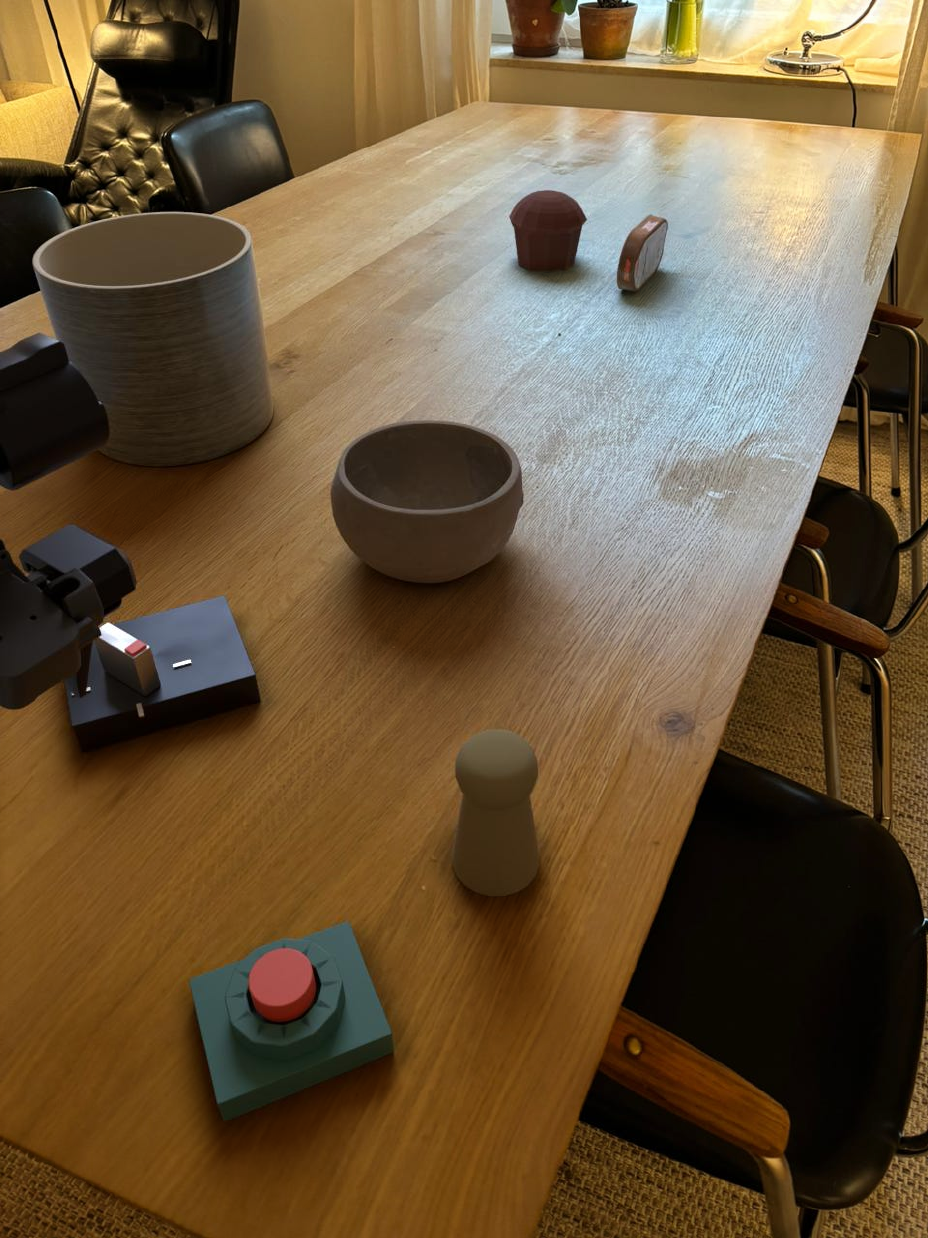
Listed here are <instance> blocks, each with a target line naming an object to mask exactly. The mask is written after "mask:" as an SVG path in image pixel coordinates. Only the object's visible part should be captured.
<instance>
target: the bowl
mask: <svg viewBox="0 0 928 1238" xmlns="http://www.w3.org/2000/svg"><path fill="white" fill-rule="evenodd" d="M524 496H525V495H524V490H523V473H522V467H521V463H520V460H519V457H518V455H517V454H516V452H515V451H514V449H513V448H512V446H510V445H509V444H508V443H507V441H505V440H504V439H502V438H500V437H499V436H497V435H496V434H494V433H492V432H490V431H488V430H485V429H482V428H479V427H477V426H474V425H470V424H466V423H461V422H456V421H448V420H433V419H421V420H407V421H401V422H393V423H388V424H384V425H381V426H377V427H376V428H373V429H370V430H369V431H367V432H365V433H363V434H361V435H360V436H358V437H356V438H355V439H354V440H352V441H351V442H350V443H349V444H348V445H347V446H346V447H345V449H344V450H343V451H342V453H341V455H340V457H339V461H338V464H337V467H336V470H335V473H334V476H333V479H332V483H331V488H330V504H331V511H332V517H333V520H334V523H335V526H336V528H337V530H338V532H339V535H340V536H341V538H342V539H343V541H344V543H345V544H346V545H347V547H348V548H349V549H350V550H351V551H352V553H353V554H354V555H355V556H356V557H357V558H358V559H360V561H362V562H363V563H365V564H366V565H368V566H369V567H371V568H372V569H374V570H375V571H377V572H379V573H381V574H383V575H385V576H388V577H390V578H393V579H396V580H401V581H406V582H412V583H420V584H441V583H446V582H449V581H453V580H457V579H459V578H461V577H463V576H466V575H469V574H470V573H472V572H474V571H475V570H477V569H478V568H480V567H482V566H484V565H486V564H488V563H489V562H491V561H492V560H493V559H494V558H495V557H496V556H497V555H498V554H499V553H500V552H501V550H503V548H504V547H506V545H507V543H508V542H509V541H510V538H511V536H512V535H513V533H514V530H515V529H516V524H517V520H518V516H519V514H520V509H521V508H522V507H523V505H524Z"/></svg>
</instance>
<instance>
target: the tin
mask: <svg viewBox="0 0 928 1238" xmlns="http://www.w3.org/2000/svg"><path fill="white" fill-rule="evenodd" d="M668 229H669V222H668V220H667V219H666V218H665V217H661V216H656V215H653V214H648V215H646V216H645V218H643V219H641V221H640V222H639V223H638V224H637V225H635V226H634V227H633V228H632V229H631V230H630V231H629V232H628V235H627V236H626V239H625V240H624V243H623V245H622V249H621V252H620V255H619V259H618V264H617V270H616V286H617V288H618V289H619V290H626V291H629V292H638V291H639V290H640V289H642V287H643V286H644V285H645V284H646V283H647V282H648V281H649V280H650V279H651V278H652V277H653V275H655V273H656V272H657V270H658V269H659V266H660V264H661V262H662V258H663V256H664V251H665V243H666V239H667V234H668V233H667V232H668Z"/></svg>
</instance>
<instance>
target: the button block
mask: <svg viewBox="0 0 928 1238" xmlns="http://www.w3.org/2000/svg"><path fill="white" fill-rule="evenodd" d="M283 948H287V949H294V950H297V951H299V952H301V953H302V954H304V955H305V956H306V957H307V958H308V959H309V961H310V963H311V965H312V969H313V973H314V978H315V983H316V994H315V998H314V1000H313V1002H312V1004H311V1006H310V1007H309V1008H308V1010H307V1011H306V1012H305V1013H304V1014H302V1015H301V1016H299V1017H298V1018H296V1019H294V1020H291V1021H287V1022H273V1021H270V1020H267V1019H265V1018H264V1017H262V1016H261V1015H260V1014H259V1013H258V1012H257V1010H256V1009H255V1006H254V1004H253V1000H252V997H251V993H250V990H249V985H248V980H249V975H250V972H251V970H252V968H253V966H254V965H255V963H256V962H257V961H258V960H259V959H260V958H261V957H262V956H264V955H265V954H267V953H268V952H271V951H273V950H276V949H283ZM188 984H189V987H190V991H191V996H192V1001H193V1006H194V1009H195V1014H196V1018H197V1023H198V1027H199V1031H200V1035H201V1040H202V1044H203V1049H204V1053H205V1057H206V1061H207V1065H208V1070H209V1073H210V1074H209V1075H210V1079H211V1084H212V1088H213V1092H214V1096H215V1101H216V1105H217V1107H218V1110H219V1113H220V1115H221V1118H222V1120H223V1122H224V1123H225V1122H228V1121H231V1120H234V1119H235V1118H238V1117H241V1116H243V1115H245V1114H248V1113H250V1112H253V1111H255V1110H258V1109H260V1108H262V1107H265V1106H267V1105H269V1104H272V1103H274V1102H277V1101H279V1100H281V1099H284V1098H287V1097H289V1096H292V1095H294V1094H296V1093H299V1092H301V1091H303V1090H306V1089H308V1088H310V1087H311V1088H312V1087H313V1086H315V1085H318V1084H320V1083H323V1082H325V1081H327V1080H330V1079H332V1078H334V1077H337V1076H340V1075H342V1074H344V1073H347V1072H349V1071H352V1070H354V1069H356V1068H359V1067H361V1066H364V1065H366V1064H368V1063H372V1062H374V1061H376V1060H379V1059H382V1058H383V1057H386V1056H388V1055H390V1054H393V1053H395V1048H394V1047H395V1046H394V1038H393V1032H392V1030H391V1027H390V1025H389V1022H388V1020H387V1016H386V1014H385V1012H384V1009H383V1006H382V1004H381V1001H380V999H379V996H378V993H377V991H376V988H375V985H374V982H373V979H372V977H371V975H370V973H369V970H368V967H367V965H366V962H365V960H364V957H363V953H362V952H361V949H360V946H359V943H358V941H357V938H356V936H355V934H354V931H353V928H352V925H351V923H350V921H349V920H346V921H344V922H341V923H339V924H336V925H333V926H330V927H328V928H325V929H322V930H320V931H317V932H314V933H311V934H308V935H306V936H304V937H301V938H298V939H297V938H287V937H286V938H285V937H284V938H280V939H277V940H274V941H272V942H269V943H266V944H264V945H261V946H259V947H256V948H255V949H253V950H252V951H251V952H250V953H249V954H248V955H247V956H246V957H245V958H243V959H240V960H238V961H235V962H232V963H230V964H227V965H223V966H221V967H217V968H215V969H213V970H211V971H208V972H205V973H202V974H200V975H199V974H198V975H197V976H194V977H192V978H189V979H188Z"/></svg>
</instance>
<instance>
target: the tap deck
mask: <svg viewBox="0 0 928 1238" xmlns="http://www.w3.org/2000/svg"><path fill="white" fill-rule="evenodd" d="M111 624H112V625H113V626H115V627H117V628H119V629H120V630H122V631H124V632H125V633H127V634H129V635H130V636H132V637H134V638H136V639H137V640H139V641H141V642H143V643H144V644H146V645H148V646H149V647H150V648H151V652H152V655H153V659H154V662H155V666H156V669H157V672H158V676H159V679H160V683H161V686H159V687H158V688H156V689H155V690H154V691H152V692H151V693H149V694H148V695H147V696H144V695H142V694H140V693H139V692H137V691H136V690H134V689H132V688H131V687H129V686H128V685H126V684H124V683H123V682H121V681H120V680H118V679H116V678H115V677H113V676H112V675H110V674H108V673H107V672H105V671H104V669H103V666H102V663H101V660H100V657H99V654H98V651H97V648H96V645H95V642H94V641H93V644H92V650H91V658H90V665H89V673H88V681H87V689H86V695H85V696H84V697H82V698H78V697H77V696H75V695H74V694H72V693H71V691H70V690H69V688H68V686H67V684H66V682H65V681H64V680H63V681H64V688H65V694H66V701H67V706H68V707H67V708H68V712H69V719H70V724H71V729H72V731H73V733H74V737H75V740H76V741H77V744H78V747H79V749H80V752H81V754H85V753H89V752H93V751H96V750H100V749H103V748H106V747H109V746H113V745H116V744H119V743H124V742H126V741H127V742H128V741H130V740H135V739H137V738H141V737H144V736H147V735H151V734H154V733H157V732H161V731H164V730H169V729H172V728H175V727H178V726H182V725H185V724H189V723H192V722H195V721H198V720H202V719H206V718H209V717H213V716H216V715H220V714H223V713H226V712H230V711H233V710H236V709H240V708H244V707H247V706H250V705H253V704H258V703H260V702H262V700H261V699H262V698H261V693H260V690H259V684H258V678H257V674H256V671H255V669H254V666H253V664H252V662H251V659H250V657H249V653H248V651H247V648H246V646H245V644H244V641H243V638H242V635H241V632H240V630H239V628H238V625H237V623H236V620H235V618H234V614H233V612H232V609H231V607H230V604H229V601H228V599H227V597H226V595H220V596H217V597H216V596H215V597H213V598H209V599H204V600H201V601H197V602H194V603H193V602H192V603H190V604H185V605H181V606H178V607H174V608H170V609H166V610H162V611H159V612H155V613H151V614H147V615H143V616H139V617H135V618H131V619H127V620H123V621H119V622H115V623H111Z"/></svg>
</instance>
